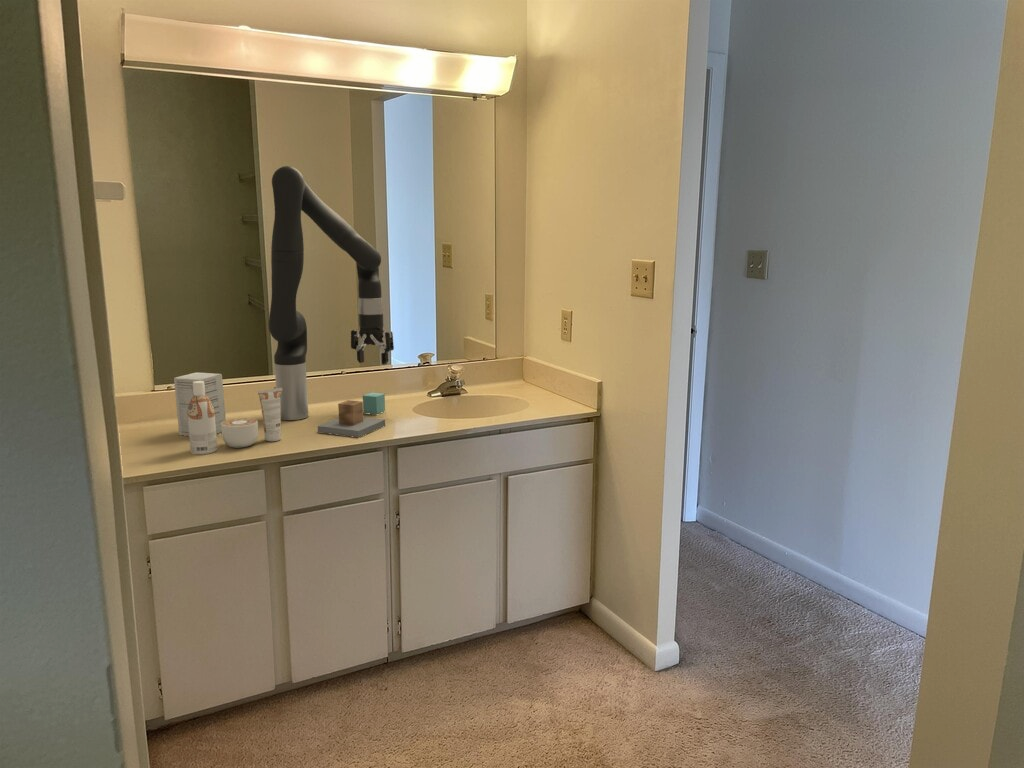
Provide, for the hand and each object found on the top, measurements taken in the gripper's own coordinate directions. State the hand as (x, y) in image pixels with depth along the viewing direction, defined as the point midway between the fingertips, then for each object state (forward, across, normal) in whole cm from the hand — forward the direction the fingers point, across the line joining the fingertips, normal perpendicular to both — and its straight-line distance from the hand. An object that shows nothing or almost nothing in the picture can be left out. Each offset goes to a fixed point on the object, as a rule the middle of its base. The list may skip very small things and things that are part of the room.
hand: (372, 363), depth 234 cm
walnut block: (+14, +5, -20) cm, 25 cm away
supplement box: (+16, -32, -40) cm, 54 cm away
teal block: (+16, 0, 0) cm, 16 cm away
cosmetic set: (+16, -14, -46) cm, 51 cm away
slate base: (+16, +5, -20) cm, 26 cm away
